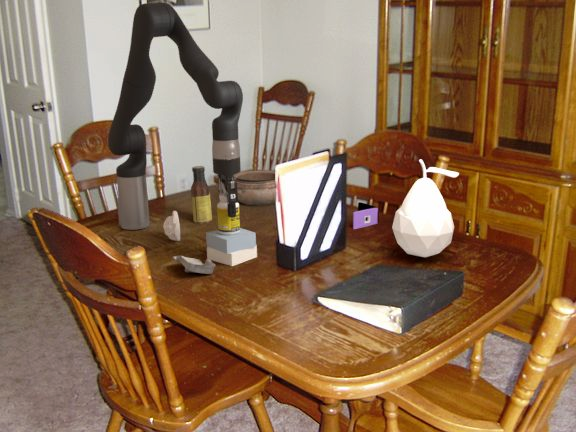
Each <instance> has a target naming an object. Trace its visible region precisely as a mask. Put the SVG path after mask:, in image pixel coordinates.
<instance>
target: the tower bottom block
mask: <svg viewBox="0 0 576 432" xmlns="http://www.w3.org/2000/svg"><path fill="white" fill-rule="evenodd" d="M257 247H258V245H257V244H256V247H252V248H248V249H244V250H241V251H237V252H233V253H229V254H226V253H223V252H221V251H218V250H216V249H213V248H210V247H208V246H206V256H207V258H206V260H207V259H209V260H211V261H212V262H217V263H220V264H224V265H227V266H230V267H234V266H237V265H240V264H242V263H244V262H247V261H249V260H253V259H255V258H258V248H257Z"/></svg>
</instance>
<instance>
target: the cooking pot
mask: <svg viewBox="0 0 576 432" xmlns="http://www.w3.org/2000/svg"><path fill="white" fill-rule="evenodd" d="M234 178H236V179H235V180H236V181H237V191H238V203H241V204H242V205H246V206H253V207H254V206H255V207H263V206H270V205H274V204H276V203H275V170H249V171H240V172H239V173H237V174H234Z"/></svg>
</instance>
